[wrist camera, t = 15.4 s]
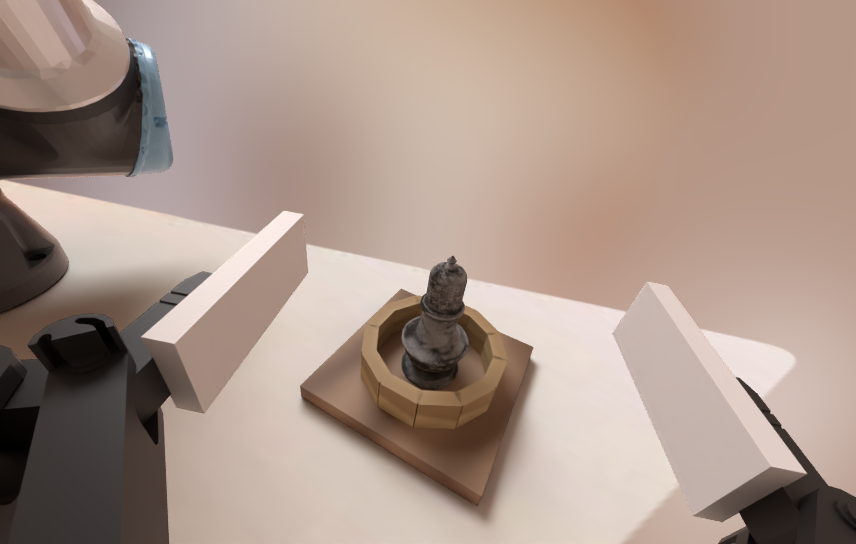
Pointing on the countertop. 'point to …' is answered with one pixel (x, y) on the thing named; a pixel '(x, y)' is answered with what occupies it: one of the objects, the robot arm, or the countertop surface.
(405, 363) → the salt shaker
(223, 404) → the countertop surface
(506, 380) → the collar stand
